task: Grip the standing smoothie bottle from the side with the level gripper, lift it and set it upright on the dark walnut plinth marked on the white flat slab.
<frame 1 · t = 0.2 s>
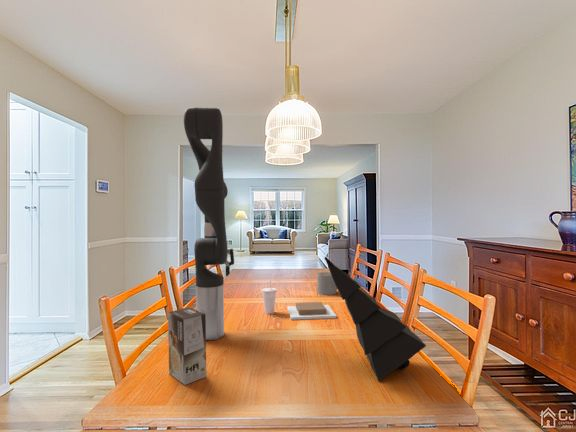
hand: (215, 276, 127), 18 cm above the table, tool pointing down, fingers open, 8 cm apart
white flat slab: (310, 313, 138), on the table
smoothie: (269, 313, 139), on the table
coffee mug: (330, 293, 173), on the table
decorative tree: (371, 369, 88), on the table
coffee box: (187, 375, 85), on the table
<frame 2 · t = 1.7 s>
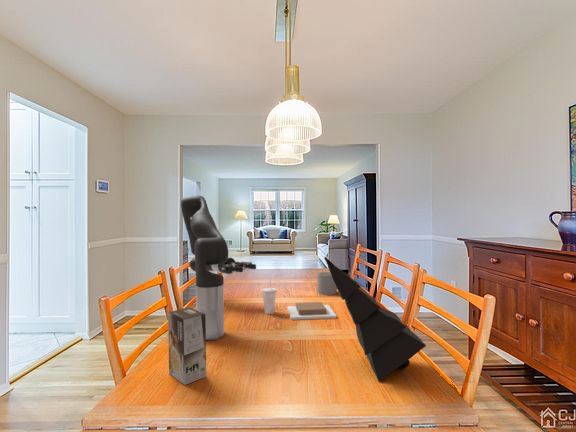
hand: (249, 268, 146), 18 cm above the table, tool horizontal, fingers open, 8 cm apart
nothing on the table moved.
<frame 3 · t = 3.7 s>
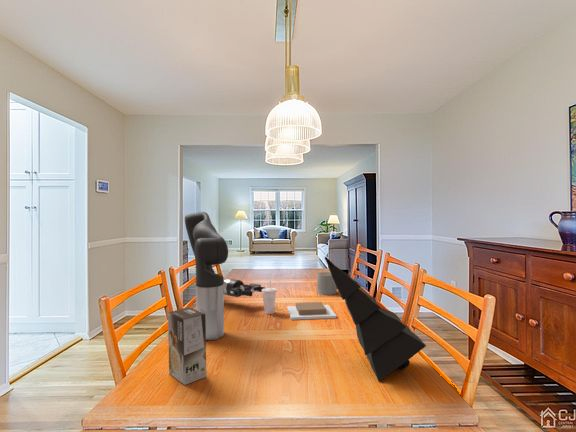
hand: (258, 291, 142), 8 cm above the table, tool horizontal, fingers open, 8 cm apart
nothing on the table moved.
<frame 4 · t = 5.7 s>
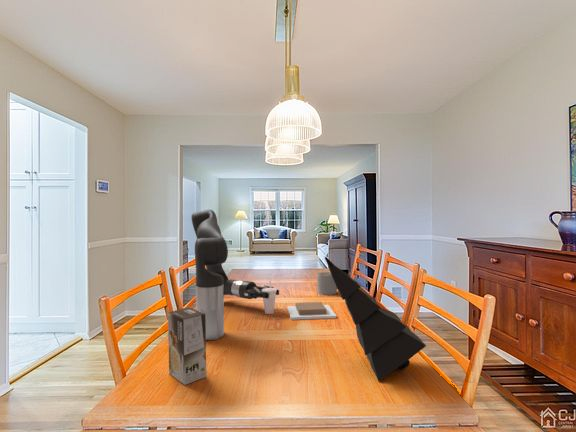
hand: (273, 294, 138), 8 cm above the table, tool horizontal, fingers closed on smoothie, 6 cm apart
smoothie: (269, 313, 139), on the table, touching gripper
everything else where it was.
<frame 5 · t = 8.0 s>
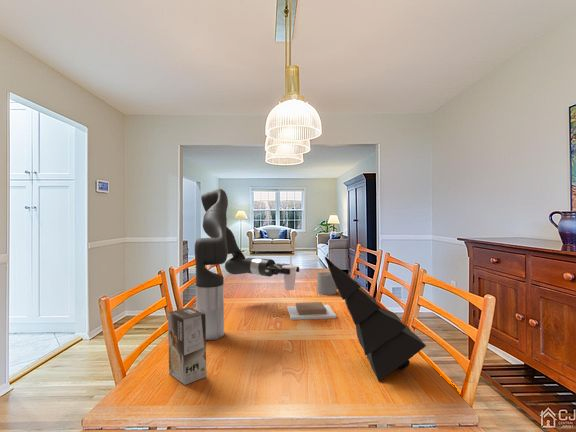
hand: (294, 270, 137), 18 cm above the table, tool horizontal, fingers closed on smoothie, 6 cm apart
smoothie: (289, 289, 139), point 10 cm above the table, touching gripper
everything else where it was.
when the fingers open (12 cm above the table, at t = 10.4 s): smoothie drops 1 cm, resting on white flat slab.
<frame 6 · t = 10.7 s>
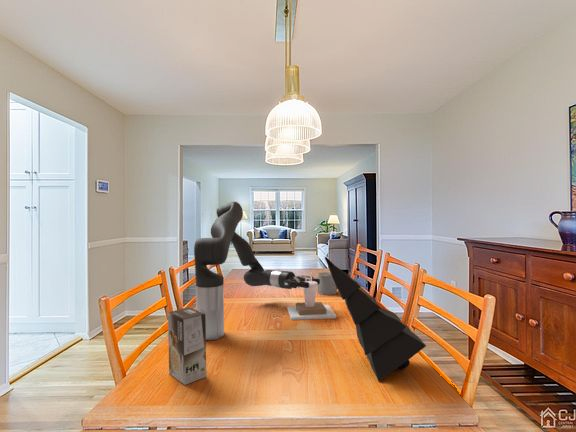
hand: (314, 283, 137), 12 cm above the table, tool horizontal, fingers open, 8 cm apart
smoothie: (309, 306, 138), point 3 cm above the table, touching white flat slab
everything else where it was.
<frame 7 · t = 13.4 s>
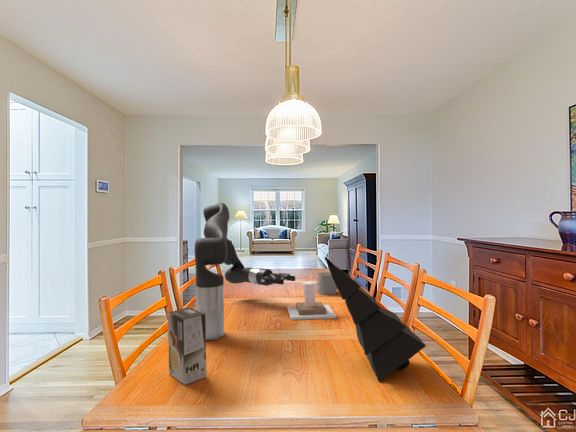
hand: (289, 280, 144), 13 cm above the table, tool horizontal, fingers open, 8 cm apart
nothing on the table moved.
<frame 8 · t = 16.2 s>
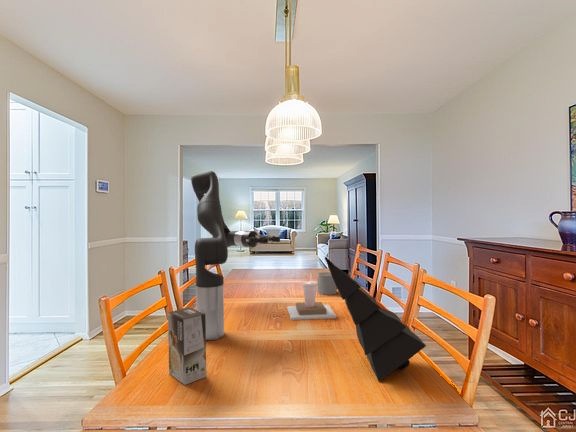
hand: (273, 240, 144), 30 cm above the table, tool horizontal, fingers open, 8 cm apart
nothing on the table moved.
at the end: smoothie 0.2 cm off-centre on the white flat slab, point 2.8 cm above the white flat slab's base; smoothie tilted 0°; the gripper is holding nothing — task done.
